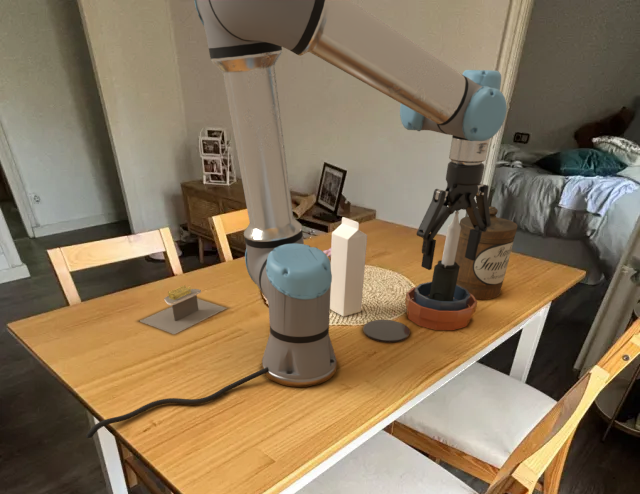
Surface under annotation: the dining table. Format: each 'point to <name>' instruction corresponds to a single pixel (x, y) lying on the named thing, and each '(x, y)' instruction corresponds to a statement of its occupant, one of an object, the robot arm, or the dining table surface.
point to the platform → (182, 311)
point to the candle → (447, 265)
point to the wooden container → (485, 257)
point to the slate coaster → (386, 331)
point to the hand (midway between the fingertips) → (448, 263)
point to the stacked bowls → (439, 308)
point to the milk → (347, 267)
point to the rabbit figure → (328, 252)
